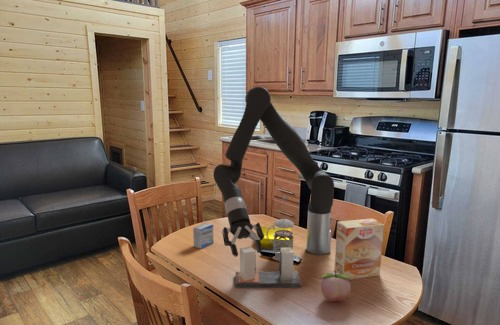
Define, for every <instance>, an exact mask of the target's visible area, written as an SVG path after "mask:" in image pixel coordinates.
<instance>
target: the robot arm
mask: <svg viewBox="0 0 500 325" xmlns="http://www.w3.org/2000/svg"><path fill="white" fill-rule="evenodd" d="M271 97H272V96H271V94H270V92H269V90H268V89H266V88H265V87H263V86H256V87H252V88H250V89H249V90H248V91H247V93H246V94H245V98H244V101H245V108H244V112H243V115H242V118H241V120H240V123H239V125H238V126H237V127H236V129H235V131H234V134H233V135H232V138H231V140H230V142H229V145H228V146H227V150H226V153H225V157H226V159H228V160H229V161H230V165H227V164H222V163H220V164H218V165H217V166H215V167H214V170H213V179H214V182H215V184H216V185H217V187H218V189H219V191H220V192H221V194H222V197H223V201H224V206H225V207H224V208H225V214H226V216H227V219H228V225H229V227H230V228H229V227H226V226H224V227H223V229H222V232H221V233H222V238H223V244H224V246H225V247H227V246H228V247H230V252H231V254H232V256H234V258H236V257H238V256H239V252H238V248H237V245H236V241H237V239H238V240H242V239H250V240H252V241H253V242H254V244H255V249H256V252H257V254H260V253H261V252H262V250H263V247H262V246H261V242H260V241H261V240H262V239H263V238H264V234H263V232H262V229H261V226H262V225H261V223H260V222H256V223H255V224H252V223H251V219H250V216H249V212H248V209H247V205H246V203H245V201H244V200H245V199H244V197H243V194H242V191H241V188H240V187H239V186H238V185H237V183H238V181H239V180H240V178H241V175H242V169H243V161H244V158H245V155H246V152H247V150H248V148H249V145H250V143H251V141H252V138H253V135H254V132H255V130H256V128H257V126H258V125H259V123H260V121H261V123H262V124H263V125H264V127H265V128H266V130H267V132H268V134H269V135H270V137H271V138H272V139H273V141H274V143H275V144H276V146H277V147H278V148H279V150H280V151H281V153H282V154H283V155H284V156H285V157H286V158H287V159H288V161H290V163H291V164H293V166H294V167H295V168H296V169H297V170H298V171H299V173H300V174H301V176H302V177H303V180H304V181H305V182H306V185H307V186H308V188H309V190H310V202H308V206H307V223H306V224H307V227H306V228H307V229H306V243H305V244H306V245H305V246H306V247H305V248H306V251H307V252H308V253H310V254H313V255H318V256H319V255H321V256H322V255H326V254H330V253H331V244H332V243H331V242H332V241H331V240H332V230H331V219H332V218H331V216H332V215H331V213H332V206H333V204H334V194H335V182H334V179H333V178H332V177H331V175H329V174H327V172H325V171H324V170H323V168H321V167H320V166H319V164H317V163H316V161H315V160H314V159H313V157H312V156H311V154H310V151H309V150H308V147H307V146H306V144H305V142H304V140H303V138H302V137H301V136H300V135H299V133H298V132H297V131H296V130H295V128H294V127H293V126H292V125H291V124H290V123H289V122H288V121H287V120H286V119H285V118H284V117H283V116H282V115H281V114H280V112H278V111H277V109H276V108H275V106H274V104H273V103H272V99H271ZM253 230H254V231H253ZM229 234H232V235H233V236H232V239H231V240H230V238H229V237H230V236H229ZM256 234H257V235H258V236H257V235H256Z"/></svg>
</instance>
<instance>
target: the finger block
mask: <svg viewBox="0 0 500 325" xmlns="http://www.w3.org/2000/svg"><path fill="white" fill-rule="evenodd" d="M256 252H257V250H255V249H254V248H253V247H252V246H246V247H240V248H239V272H240V276H241V277H242V278H243V280H244V281H246V280H251V279H255V274H256V272H257V271H256V268H257V264H256V263H257V254H256Z"/></svg>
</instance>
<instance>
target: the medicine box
mask: <svg viewBox="0 0 500 325" xmlns="http://www.w3.org/2000/svg"><path fill="white" fill-rule="evenodd" d="M192 230H193V247H194V248H198V249H200V250H201V249H204V248H206V247H208V246H210V245H212V244H214V243H215V242H214V224H213V223H210V222H205V223H202V224H199V225H197V226H195V227H193V229H192Z"/></svg>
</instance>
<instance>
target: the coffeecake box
mask: <svg viewBox="0 0 500 325" xmlns="http://www.w3.org/2000/svg"><path fill="white" fill-rule="evenodd" d="M336 225H337V226H336V237H335V238H336V239H335V255H334V267H333V268H334V269H333V270H334V271H333V272H335V271H336V273H340V274H345V275H347V276H348V277H349V278H350V279H351V280H358V279H363V278H370V277H371V278H372V277H379V276H380V275H381V265H382V254H383V253H382V252H383V243H384V230H385V224H384V223H382V222H380V221H379V220H377V219H375V218H372V217H371V218H364V219H362V218H361V219H352V220H341V221H337V224H336Z"/></svg>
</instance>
